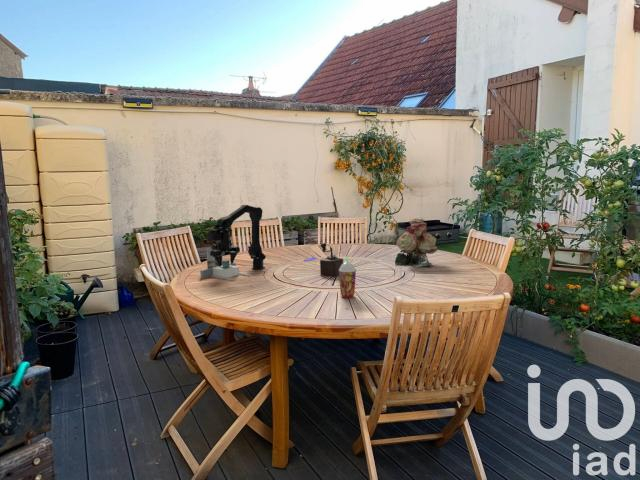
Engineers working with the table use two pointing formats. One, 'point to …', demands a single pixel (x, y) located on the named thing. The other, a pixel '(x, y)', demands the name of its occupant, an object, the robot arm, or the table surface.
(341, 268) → the smoothie
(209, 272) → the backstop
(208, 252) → the coffee box
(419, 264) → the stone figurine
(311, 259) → the booklet
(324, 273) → the black box with stems
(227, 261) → the dowel
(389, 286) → the table surface
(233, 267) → the socket block
